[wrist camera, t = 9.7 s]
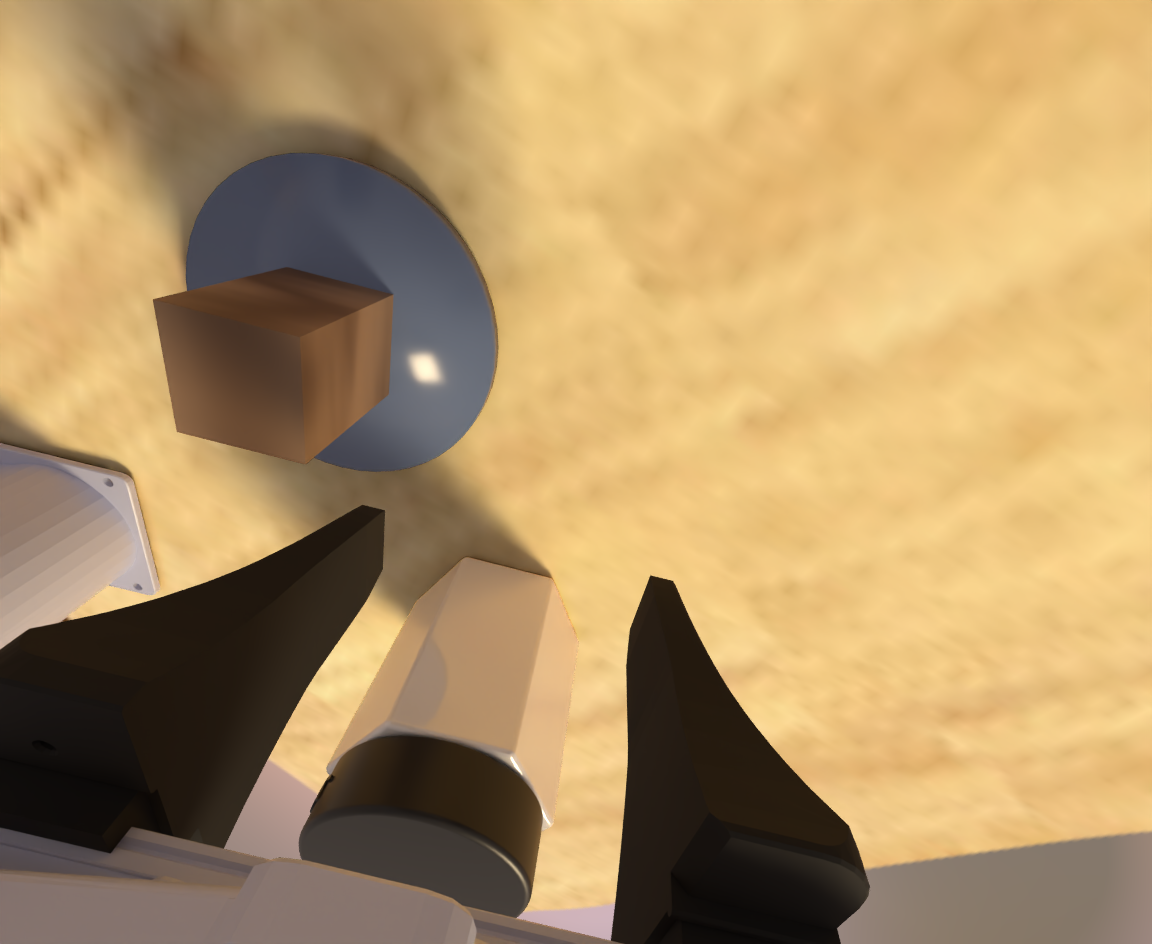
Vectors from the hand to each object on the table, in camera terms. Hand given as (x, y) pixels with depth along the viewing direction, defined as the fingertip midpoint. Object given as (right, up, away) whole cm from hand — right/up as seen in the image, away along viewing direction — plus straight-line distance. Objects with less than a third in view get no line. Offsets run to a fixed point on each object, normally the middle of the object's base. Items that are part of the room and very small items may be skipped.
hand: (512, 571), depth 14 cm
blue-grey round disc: (-7, +8, +7) cm, 13 cm away
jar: (-2, -5, +14) cm, 15 cm away
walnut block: (-7, +8, +6) cm, 12 cm away
